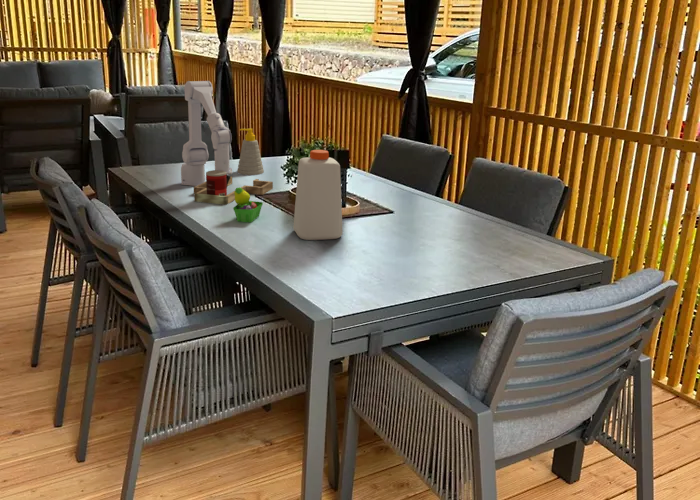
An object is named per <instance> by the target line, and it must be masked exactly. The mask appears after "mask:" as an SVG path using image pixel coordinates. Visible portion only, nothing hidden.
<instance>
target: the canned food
mask: <svg viewBox="0 0 700 500" xmlns="http://www.w3.org/2000/svg"><path fill="white" fill-rule="evenodd" d="M205 181H206V187H207V194H208V195H218V196H226V195H228V194H227V193H228V192H227V191H228V190H227V189H228V186H227V181H226V172H225V171H218V170H215V169H212V170H208V171H206V172H205Z"/></svg>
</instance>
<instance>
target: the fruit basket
mask: <svg viewBox="0 0 700 500" xmlns="http://www.w3.org/2000/svg"><path fill="white" fill-rule="evenodd" d="M234 191H235V192H234V194H235V200H234V201H235V203H236V205H235V206H234V207H232V209H233V211H234V214H235V217H236V222H241V223H242V222H243V223H252V222H253V221H255V220H256V219H257V218H258V217H259V216H260V215H261V210H262V206H263V204H264V202H262V201H256V200H255V201H254V200H250V199H251V195H250V194H248V193H247V192H246V191H244V190H243V189H242V188H241V187H236V188H235V189H234Z"/></svg>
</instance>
